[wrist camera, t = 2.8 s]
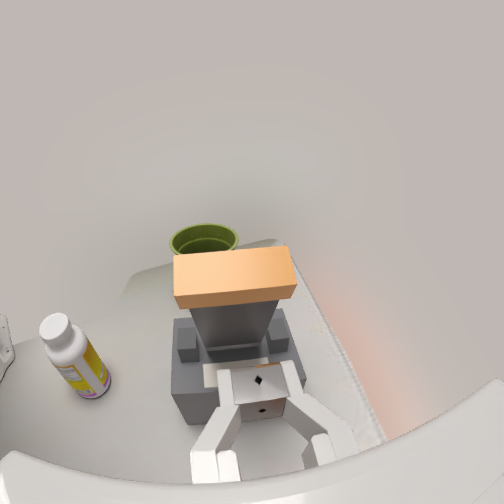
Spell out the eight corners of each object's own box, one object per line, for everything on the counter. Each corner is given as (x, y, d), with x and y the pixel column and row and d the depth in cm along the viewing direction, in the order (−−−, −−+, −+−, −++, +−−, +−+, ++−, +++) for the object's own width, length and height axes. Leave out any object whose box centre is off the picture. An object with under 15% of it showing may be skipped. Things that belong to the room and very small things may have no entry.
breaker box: (295, 411, 31) (310, 365, 24) (187, 424, 29) (165, 382, 22) (277, 349, 40) (283, 293, 34) (185, 359, 38) (170, 304, 32)
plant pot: (188, 318, 45) (177, 265, 39) (173, 280, 54) (163, 231, 48) (250, 299, 50) (250, 246, 43) (226, 265, 58) (223, 218, 52)
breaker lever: (264, 349, 29) (297, 284, 15) (203, 355, 28) (173, 296, 14) (260, 327, 31) (287, 245, 16) (201, 333, 30) (173, 255, 16)
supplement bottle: (98, 358, 36) (65, 299, 29) (119, 383, 33) (83, 325, 26) (69, 379, 32) (28, 324, 25) (87, 407, 28) (41, 354, 21)
